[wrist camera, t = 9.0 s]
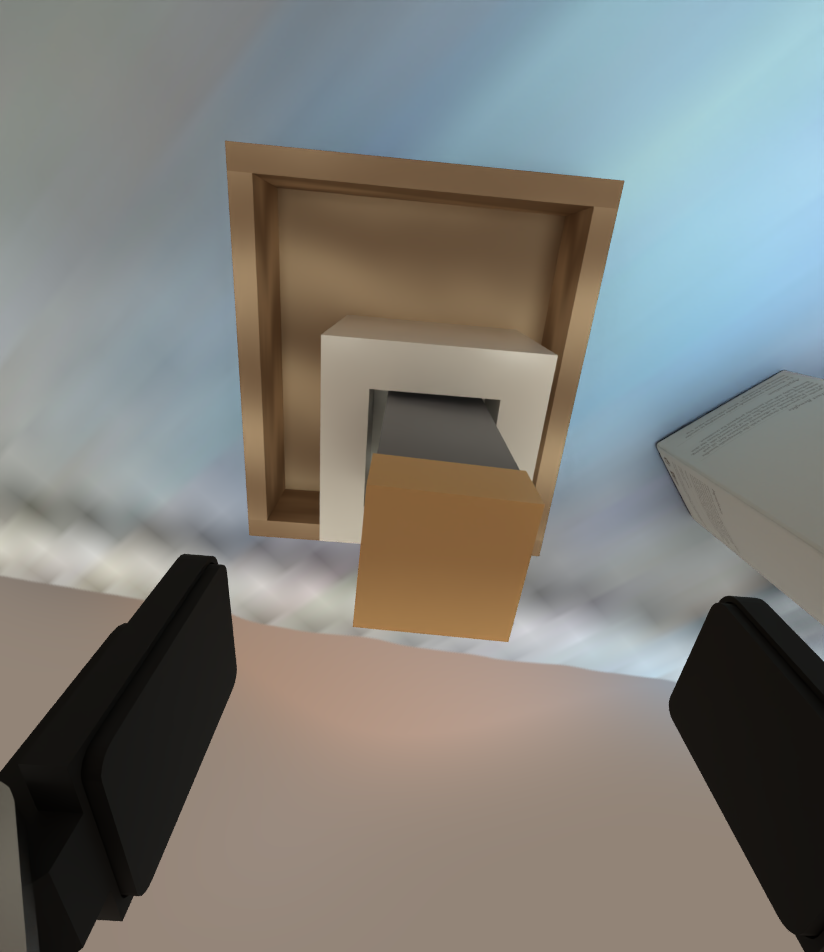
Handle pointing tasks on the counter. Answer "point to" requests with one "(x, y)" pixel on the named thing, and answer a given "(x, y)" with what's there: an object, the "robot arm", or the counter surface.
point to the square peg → (444, 522)
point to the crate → (396, 288)
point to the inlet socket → (418, 371)
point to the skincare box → (761, 481)
